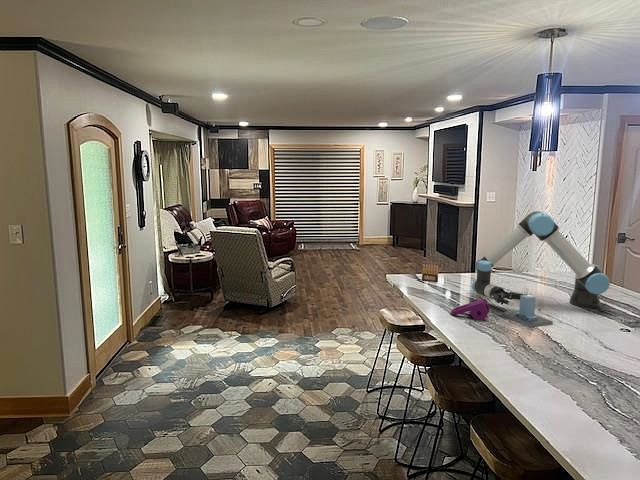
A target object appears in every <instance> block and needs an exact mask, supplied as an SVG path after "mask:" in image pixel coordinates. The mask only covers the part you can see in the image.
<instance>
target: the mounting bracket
mask: <svg viewBox="0 0 640 480" xmlns="http://www.w3.org/2000/svg"><path fill="white" fill-rule="evenodd" d="M490 309H491V308H490V305H489V303H488V300H487V297H485V298H482V299H478V300H475V301H472V302H468V303H465V304H463V305H458V306H457V307H456V306H455V308H452V309H451V310H450V311H451V314H452V315H453V316H457V315H460V314H464V313H468V312H469V313H470V315H471V317H472V318H473V319H474V320H475V321H484V320H486V319H487V317H488V315H489V313H490Z"/></svg>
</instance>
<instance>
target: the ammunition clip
mask: <svg viewBox="0 0 640 480" xmlns="http://www.w3.org/2000/svg"><path fill="white" fill-rule="evenodd" d="M421 282H428V283H429V282H431V283H439V265H438V264H434V265H433V264H431V263H426V265H425V263H423V265H422V274H421Z"/></svg>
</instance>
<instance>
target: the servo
mask: <svg viewBox="0 0 640 480" xmlns="http://www.w3.org/2000/svg"><path fill="white" fill-rule="evenodd" d="M536 300H537V297H536V296H533V295H532V294H527V295H522V296H520V300H519V308H518V309H519V312H515V314H517V315H519V317H521V318H524V319H529V320H532V319H538V317H536V316H534V314H535V310H536Z"/></svg>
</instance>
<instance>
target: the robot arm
mask: <svg viewBox="0 0 640 480" xmlns="http://www.w3.org/2000/svg"><path fill="white" fill-rule="evenodd" d="M559 230H560V226H559V225H557V223H556V222H555V221H554V219H553V218H552V217H551V215H549V214H547V213H544V212H543V211H536V210H535V211H532V212H530V213H529V214H528V215H526V216H525V217H524V218H523V219H522V220H521V221H520V222H519V223H518V224H517V227H516V228H514V230H512V231H511V232H510V233H509V234H508V235H507V236H506V237H505V238H504V239H502V240H501V241H500V242H499V243H497V245H496V246H494V247H493V248H492V249H491V250H490V251H489V252H487V253H486V254H485V255H484V256H483V257H482V258H479V259H478V260H476V262H475V266H474V268H475V270H476V280H474V281H473V282H472V284H471V289H472V291H473V292H474V293H476V294H478V295H481V296H483V297H485V298H489V299H490V300H494V301H495V302H496V303H497V304H500V305H504V304H505V305H507V306H510V307H513V308H514V307H515V304H516V301H514V300H518V301H520V296H522V295H528V294H526V293H525V294H524V293H518V292H513V291H505V289H504V288H503V287H500V286H497V285H495V284H492V283H491V277H492V276H491V275H492V268H493V267H494V266H495V265H497V263H499V262H500V261H501V260H502V259H503V258H505V256H506V255H507V254H509V253H510V252H511V251H512V250H514V249H515V248H516V247H517V246H519V244H521V242H523V241H524V240H525V239H526V238H527V237H528V238H529V237H531V236H533V235H534V236H536V238H537V239H539V241H540V242H545V243H546V244H547V245H548V246H549V247H550V248H551V249H552V250H553V252H555V253H556V255H557V256H558V257H560V259H561V260H562V261H563V262H564V263H565V264H566V265H567V266H568V267H569V268H570V269H571V271H572V272H574V273H575V278H574V279H575V280H574V288H573V290H572V294H571V296H570V298H569V303H570V304H571V305H573V306H576V307H582V308H586V309H587V308H588V309H589V308H590V309H594V308H595V309H596V308H597V309H598V308H600V307H601V301H600V296H599V295H602V294H604V293H605V292H607V291H608V289H609V288H610V285H611V282H610V279H609V277H608V275H607V274H605V273H603V272H602V271H601V266H600V265H597V264H594V263H589V262H588V260H587V259H586V258H585V257H584V256H583V255H582V254H581V253H580V252H579V251H578V250H577V249H576V248H575V246H573V245H572V244H571V243H570V241H569V240H568V239H567V238H566V237H565V236H564V235H563V234H562V233H561V232H560V231H559Z"/></svg>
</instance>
